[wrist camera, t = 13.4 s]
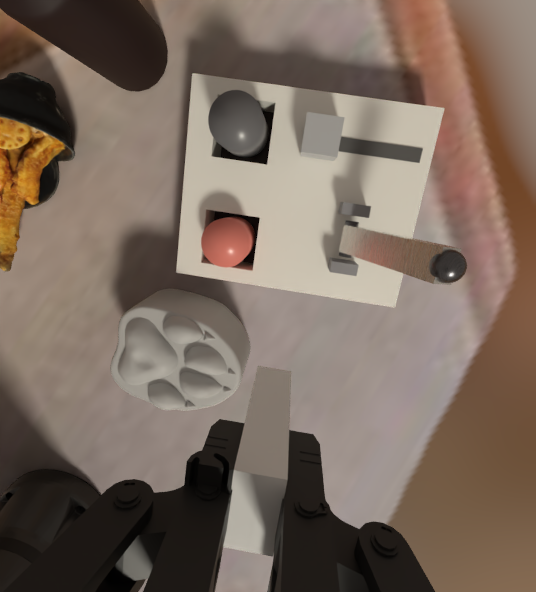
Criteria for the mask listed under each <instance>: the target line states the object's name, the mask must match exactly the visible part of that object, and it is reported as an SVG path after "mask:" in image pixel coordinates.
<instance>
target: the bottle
mask: <svg viewBox="0 0 536 592" xmlns="http://www.w3.org/2000/svg"><path fill="white" fill-rule="evenodd" d="M0 8H1V9H2V10H3V11H4V12H5V13H6V14H7V15H9V16H10V17H12V18H13V19H15V20H17V21H18V22H20V23H21V24H23V25H24V26H26V27H27V28H29V29H30V30H32V31H34V32H35V33H37V34H38V35H40V36H41V37H43V38H44V39H46V40H48V41H49V42H51V43H52V44H54V45H55V46H57V47H58V48H60V49H61V50H63V51H65V52H66V53H68V54H69V55H71V56H72V57H74V58H75V59H77V60H78V61H80V62H82V63H83V64H85V65H86V66H88V67H89V68H91V69H92V70H94V71H96V72H97V73H99V74H100V75H102V76H103V77H105V78H106V79H108V80H109V81H111V82H113V83H114V84H116V85H117V86H119V87H121V88H123V89H126V90H129V91H142V90H146V89H149V88H151V87H152V86H153V85H155V84H156V83H157V82H158V81H159V80H160V78H161V77H162V75H163V74H164V71H165V68H166V65H167V53H168V50H167V46H166V42H165V37H164V35H163V34H162V32H161V30H160V28H159V26H158V25H157V24H156V23H155V21H154V20H153V19H152V17H151V16H150V15H149V14H148V12H147V11H146V10H145V9H144V7H143V6H142V5H141V3H140V2H139V1H138V0H0Z"/></svg>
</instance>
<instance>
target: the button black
mask: <svg viewBox="0 0 536 592" xmlns="http://www.w3.org/2000/svg"><path fill="white" fill-rule="evenodd" d="M208 124H209V129H210V132H211V134H212V136H213V138H214V139H215V140H216V141H217V142H218V143H219V144H220V145H221V146H222V147H224V148H225V149H227V150H228V151H229V152H231V153H232V154H233V155H235V156H237V157H241V158H250V157H253V156H255V155H257V154H258V153H260V152H261V151H262V150H263V148H264V147H265V145H266V143H267V140H268V126H267V123H266V120H265V118H264V115H263V112H262V110H261V107H260V105H259V104H258V102H257V101H256V99H255V98H254V97H253V96H251V95H250V94H248V93H247V92H244V91H241V90H230V91H227V92H224V93H223V94H221V95H220V96H218V97H217V98H216V99H215V101H214V102H213V104H212V106H211V108H210V111H209V116H208Z"/></svg>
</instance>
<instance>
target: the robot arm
mask: <svg viewBox="0 0 536 592" xmlns="http://www.w3.org/2000/svg"><path fill="white" fill-rule="evenodd" d="M290 388H291V371H285V370H279V369H273V368H267V367H261V366H258V368H257V373H256V377H255V381H254V385H253V390H252V394H251V398H250V403H249V407H248V411H247V416H246V420H245V423H239V422H233V421H227V420H222V419H219V420H218V421H217V422H216V423H215V424H214V425H212V426H211V429H210V431H209V434H208V437H207V439H206V442H205V445H204V447H203V450H202V451H198V452H197V453H195V454H193V455H192V456H191V457H190V458H189V459H188V461H187V465H186V475H185V485H184V486H182V487H181V488H178V489H176V490H173V491H168V492H159V493H154V492H153V490H152V488H151V486H150V485H148V484H147V483H145V482H144V481H140V480H136V479H133V480H124V481H121V482H118V483H116V484H114V485H113V486H111V487H110V488H109V489H107V490H106V491H105V492H104V493H103V494H102V495H101V496H100V495H99V494H98V493H97V492H96V491H95V490H94V489H93V488H92V487H91V486H90V485H88V484H87V483H85V482H84V481H82V480H81V479H79V478H77V477H75V476H73V475H70V474H68V473H64V472H61V471H55V470H38V471H33V472H30V473H27V474H25V475H23V476H21V477H20V478H18V479H17V480H16V481H15V482H14V483H13V484H12V485H11V486H10V487H9V488H8V489H7V490H6V491H5V492H4V493H3V494H2V496H1V497H0V592H138V591H139V590H140V588H141V587H142V585H143V584H144V581H145V579H148V581H147V583H146V586H145V588H144V591H143V592H215V588H216V583H217V578H218V573H219V568H220V563H221V556H222V550H223V547H225V548H230V549H236V550H241V551H247V552H252V553H257V554H263V555H268V556H273V553H274V559H273V565H272V570H271V576H270V581H269V586H268V591H267V592H435V591H434V589H433V587H432V585H431V584H430V582H429V580H428V578H427V577H426V575H425V573H424V571H423V569H422V568H421V566H420V564H419V562H418V561H417V559H416V557H415V556H414V554H413V552H412V550H411V548H410V547H409V545H408V543H407V542H406V540H405V539H404V538H403V536H402V535H401V534H400V533H399V532H397V531H396V530H395V529H394V528H392V527H390V526H388V525H386V524H384V523H380V522H369V523H365V524H364V525H363V526H362V527H361V528H360V529H358V528H355V527H353V526H351V525H349V524H347V523H345V522H343V521H342V520H340V519H339V518H338V517H336V516H335V515H334V514H333V513H332V511H331V510H330V507H329V504H328V503H327V502H326V500H325V494H324V484H323V473H322V466H321V464H322V463H321V452H320V444H319V442H318V441H317V439H316V438H315V436H314V435H313V434H308V433H302V432H296V431H291V430H289V419H290Z"/></svg>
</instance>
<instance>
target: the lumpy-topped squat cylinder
mask: <svg viewBox="0 0 536 592" xmlns="http://www.w3.org/2000/svg"><path fill="white" fill-rule="evenodd" d="M249 354H250V341H249V337H248V334H247V332H246V330H245V328H244V326H243V324H242V323H241V322H240V320H239V319H238V318H237V317H236V316H235V315H234V314H233V313H232V312H231V311H230V310H229V309H228V308H227V307H226V306H225V305H224V304H222V303H220V302H218V301H216V300H213V299H211V298H208V297H205V296H202V295H199V294H196V293H192V292H188V291H183V290H178V289H162V290H159V291H157V292H155V293H154V294H152V295H150V296H149V297H147V298H146V299H144V300H143V301H141V302H140V303H138V304H137V305H135V306H134V307H132V308H131V309H129V310H128V311H126V312H125V313H124V314H123V316H122V317H121V319H120V322H119V328H118V345H117V349H116V351H115V354H114V356H113V358H112V362H111V367H110V369H111V374H112V377H113V379H114V380H115V382H116V383H117V384H118V385H119V387H121V388H122V389H123V390H124V391H125V392H127V393H128V394H130V395H132V396H135V397H137V398H139V399H142V400H145V401H147V402H150V403H152V404H153V405H154V406H155V407H157V408H159V409H162V410H173V409H175V410H182V411H187V410H196V409H202V408H207V407H211V406H214V405H216V404H219V403H221V402H222V401H224V400H226V399H227V398H228V397H230V396H231V395H232V394H233V393H234V392H235V391H236V390H237V388H238V387H239V385H240V382H241V379H242V376H243V373H244V370H245V367H246V363H247V360H248V357H249Z"/></svg>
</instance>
